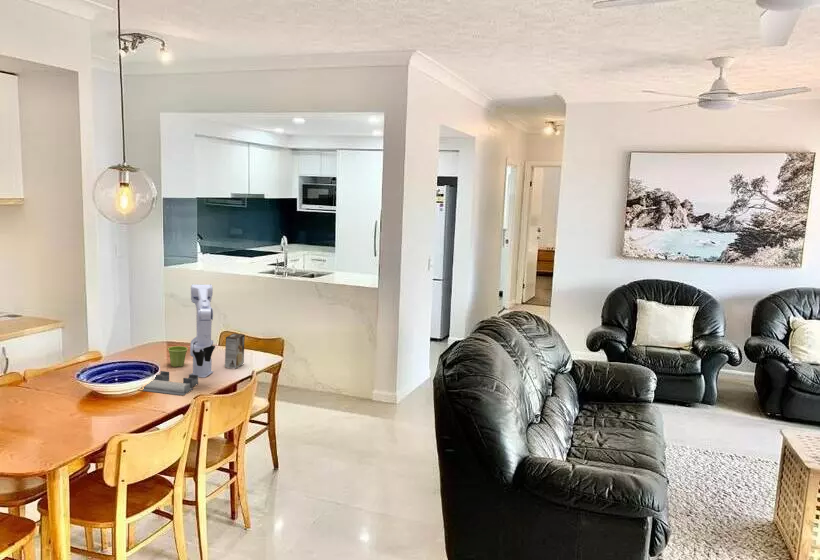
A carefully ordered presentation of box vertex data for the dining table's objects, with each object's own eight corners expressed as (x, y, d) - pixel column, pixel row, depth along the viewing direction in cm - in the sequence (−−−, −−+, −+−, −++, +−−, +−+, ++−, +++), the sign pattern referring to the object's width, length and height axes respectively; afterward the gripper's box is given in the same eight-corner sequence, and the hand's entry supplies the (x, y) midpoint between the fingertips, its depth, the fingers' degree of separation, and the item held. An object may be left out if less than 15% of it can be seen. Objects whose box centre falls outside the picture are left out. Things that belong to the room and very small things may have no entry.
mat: (149, 384, 272) (149, 383, 272) (193, 389, 270) (193, 388, 270) (137, 390, 264) (137, 389, 263) (183, 395, 261) (183, 395, 261)
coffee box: (232, 363, 314) (233, 333, 311) (244, 364, 313) (245, 334, 310) (224, 367, 305) (225, 336, 302) (236, 369, 304) (237, 338, 301)
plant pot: (191, 364, 306) (191, 347, 305) (179, 369, 297) (180, 352, 296) (175, 361, 308) (175, 345, 307) (163, 366, 299) (163, 349, 298)
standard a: (189, 383, 278) (189, 374, 278) (197, 383, 278) (198, 375, 277) (183, 387, 272) (183, 378, 272) (191, 388, 272) (191, 379, 271)
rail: (146, 385, 270) (146, 378, 269) (190, 390, 268) (190, 383, 267) (141, 387, 266) (141, 380, 266) (186, 393, 264) (186, 386, 263)
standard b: (161, 379, 280) (161, 370, 279) (169, 380, 279) (169, 371, 279) (153, 383, 274) (153, 374, 273) (162, 384, 273) (162, 375, 273)
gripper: (203, 330, 281) (202, 358, 282) (188, 337, 266) (187, 366, 268) (217, 331, 280) (216, 360, 282) (203, 338, 265) (202, 368, 267)
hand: (203, 363), depth 275 cm, fingers open, 7 cm apart
